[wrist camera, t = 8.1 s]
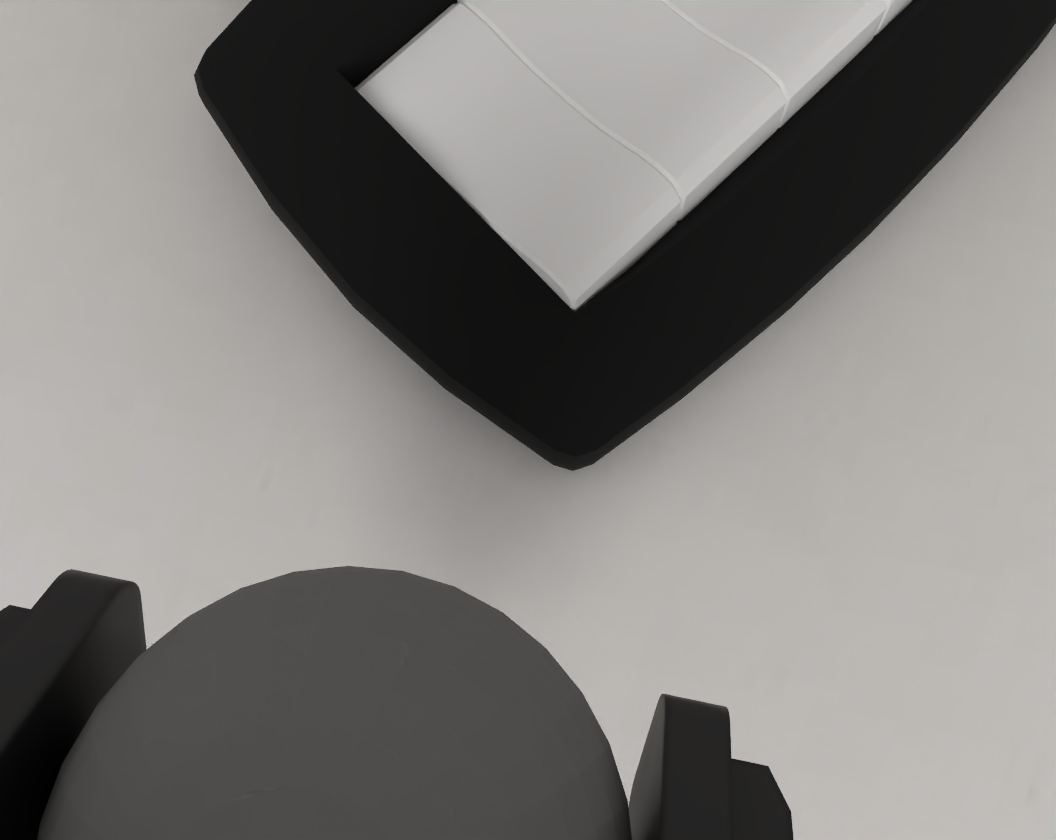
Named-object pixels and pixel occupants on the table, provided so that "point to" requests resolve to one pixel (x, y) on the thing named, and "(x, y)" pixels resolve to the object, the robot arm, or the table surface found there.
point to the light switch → (595, 173)
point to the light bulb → (341, 725)
